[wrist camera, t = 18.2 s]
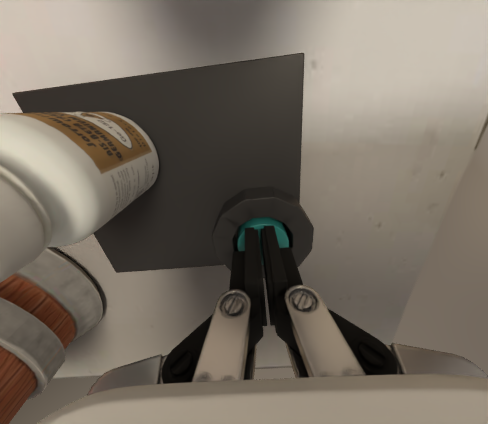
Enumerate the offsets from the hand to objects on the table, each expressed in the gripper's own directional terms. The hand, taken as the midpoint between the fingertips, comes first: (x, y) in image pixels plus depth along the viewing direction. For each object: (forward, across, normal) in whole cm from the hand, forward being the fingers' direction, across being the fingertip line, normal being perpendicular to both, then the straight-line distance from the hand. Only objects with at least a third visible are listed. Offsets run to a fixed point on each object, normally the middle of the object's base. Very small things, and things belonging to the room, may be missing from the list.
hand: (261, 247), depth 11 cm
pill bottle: (+2, +7, -6) cm, 9 cm away
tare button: (+2, 0, 0) cm, 2 cm away
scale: (+3, +4, -3) cm, 6 cm away
